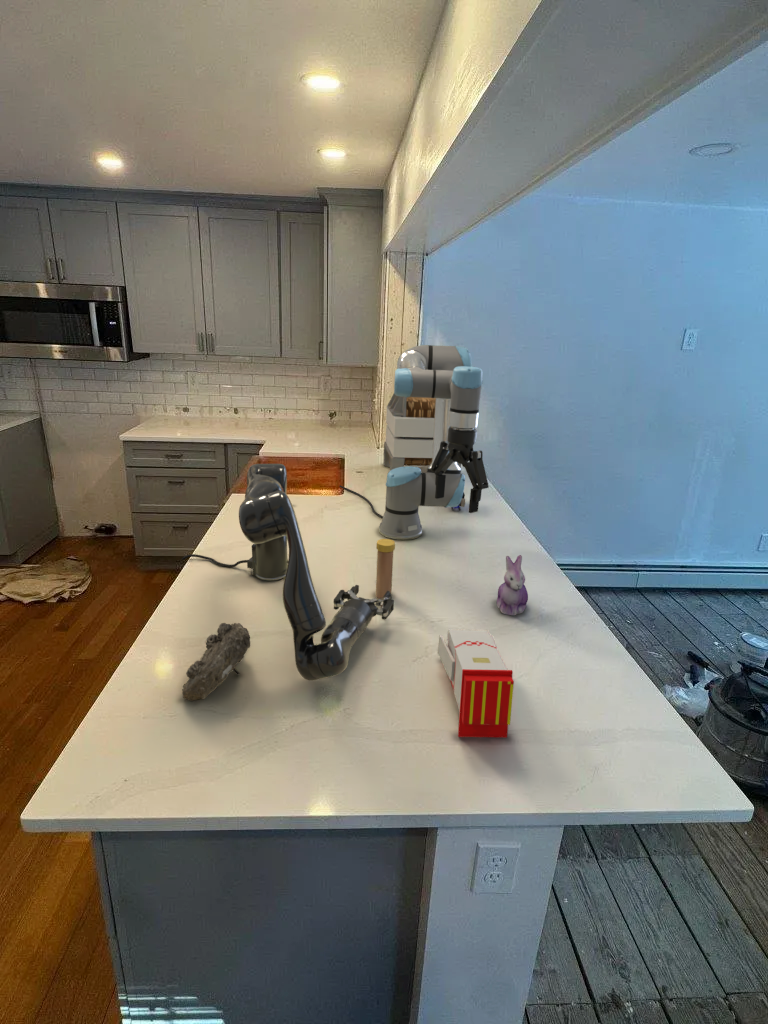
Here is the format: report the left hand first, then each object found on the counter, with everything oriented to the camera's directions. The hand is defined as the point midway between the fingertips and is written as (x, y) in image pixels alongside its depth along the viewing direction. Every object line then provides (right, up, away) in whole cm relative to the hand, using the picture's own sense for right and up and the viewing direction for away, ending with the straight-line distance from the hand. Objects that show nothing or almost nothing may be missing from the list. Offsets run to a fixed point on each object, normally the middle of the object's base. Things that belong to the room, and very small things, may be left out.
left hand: (373, 591), depth 146 cm
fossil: (-32, -14, -25) cm, 43 cm away
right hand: (+23, +22, +9) cm, 33 cm away
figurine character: (+32, +22, +84) cm, 93 cm away
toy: (+21, -17, -27) cm, 38 cm away
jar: (+3, -3, +11) cm, 11 cm away
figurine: (+37, -6, +7) cm, 38 cm away
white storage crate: (+20, +39, +129) cm, 136 cm away
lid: (+3, +12, +5) cm, 14 cm away
